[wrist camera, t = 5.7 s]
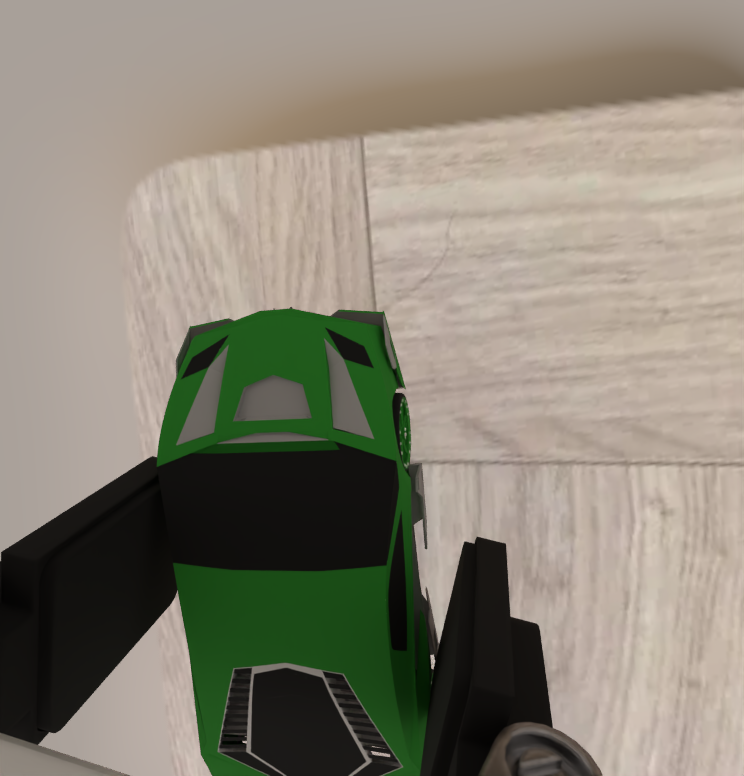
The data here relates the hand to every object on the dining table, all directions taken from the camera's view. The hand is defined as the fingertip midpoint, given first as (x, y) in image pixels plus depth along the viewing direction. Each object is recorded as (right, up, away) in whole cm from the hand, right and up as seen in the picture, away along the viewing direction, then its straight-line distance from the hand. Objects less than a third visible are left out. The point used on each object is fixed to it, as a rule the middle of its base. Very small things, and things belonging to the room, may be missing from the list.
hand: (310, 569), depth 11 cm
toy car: (0, 0, +1) cm, 1 cm away
